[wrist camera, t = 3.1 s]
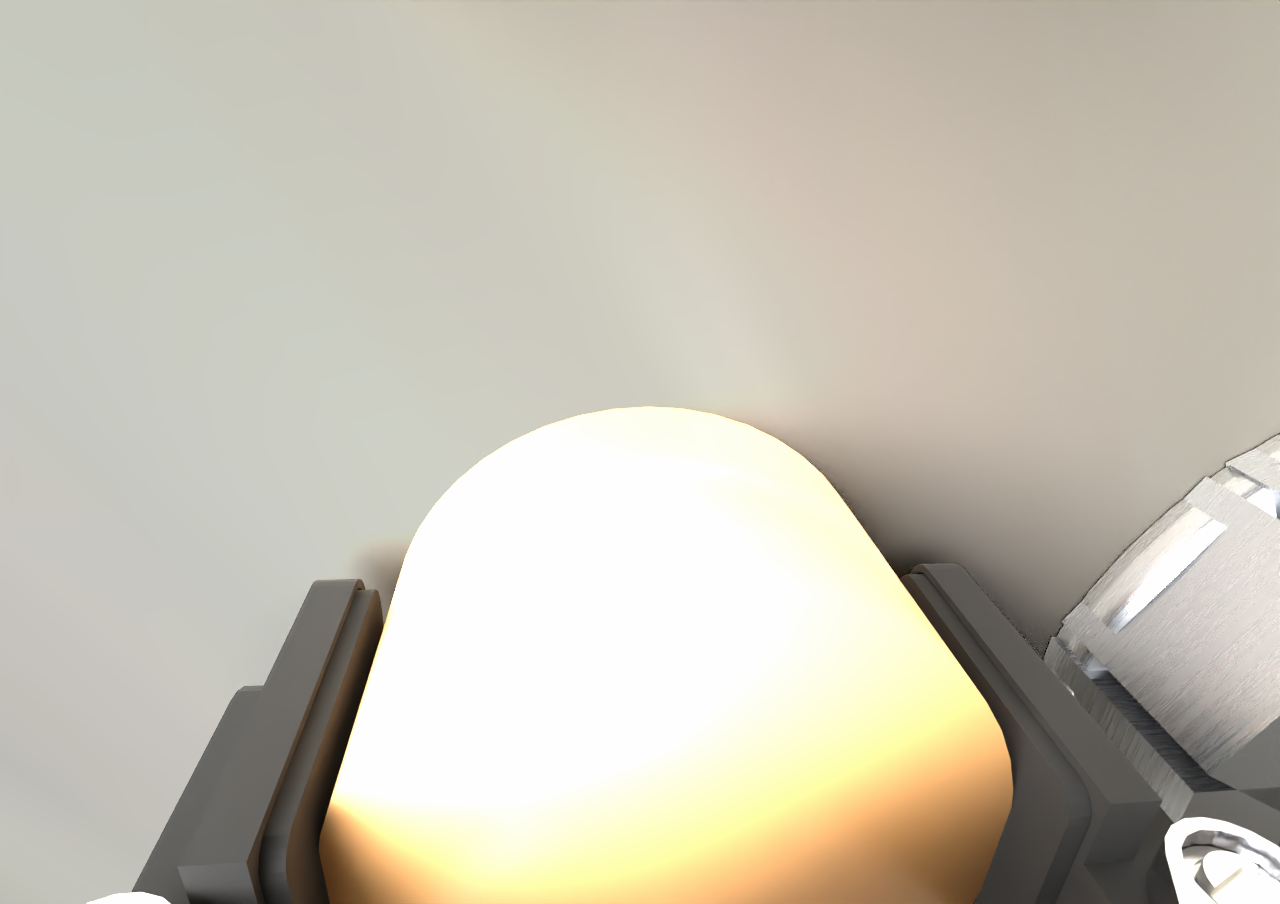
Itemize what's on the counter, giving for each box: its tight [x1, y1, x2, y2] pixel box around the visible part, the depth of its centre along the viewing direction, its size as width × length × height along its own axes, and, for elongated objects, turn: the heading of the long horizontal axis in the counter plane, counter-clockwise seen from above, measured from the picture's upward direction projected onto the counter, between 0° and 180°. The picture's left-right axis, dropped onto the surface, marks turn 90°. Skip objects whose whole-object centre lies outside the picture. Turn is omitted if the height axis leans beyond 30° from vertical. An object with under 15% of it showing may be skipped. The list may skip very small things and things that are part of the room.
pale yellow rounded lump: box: [319, 407, 1013, 904], centre depth 9 cm, size 7×7×4 cm
